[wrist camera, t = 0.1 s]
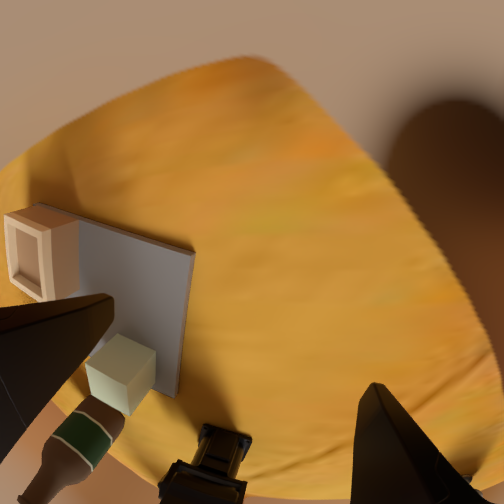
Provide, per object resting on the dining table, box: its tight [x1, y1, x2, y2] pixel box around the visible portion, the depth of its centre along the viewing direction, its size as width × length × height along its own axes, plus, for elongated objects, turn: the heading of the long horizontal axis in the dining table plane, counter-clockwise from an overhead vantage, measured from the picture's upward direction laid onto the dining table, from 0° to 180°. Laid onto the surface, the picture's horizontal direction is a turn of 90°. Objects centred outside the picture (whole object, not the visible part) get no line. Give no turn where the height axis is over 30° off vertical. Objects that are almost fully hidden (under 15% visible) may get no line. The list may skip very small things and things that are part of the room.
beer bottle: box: [17, 395, 125, 504], centre depth 25 cm, size 8×8×24 cm
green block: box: [85, 333, 156, 416], centre depth 26 cm, size 5×5×6 cm
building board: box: [4, 203, 196, 398], centre depth 26 cm, size 18×22×6 cm
